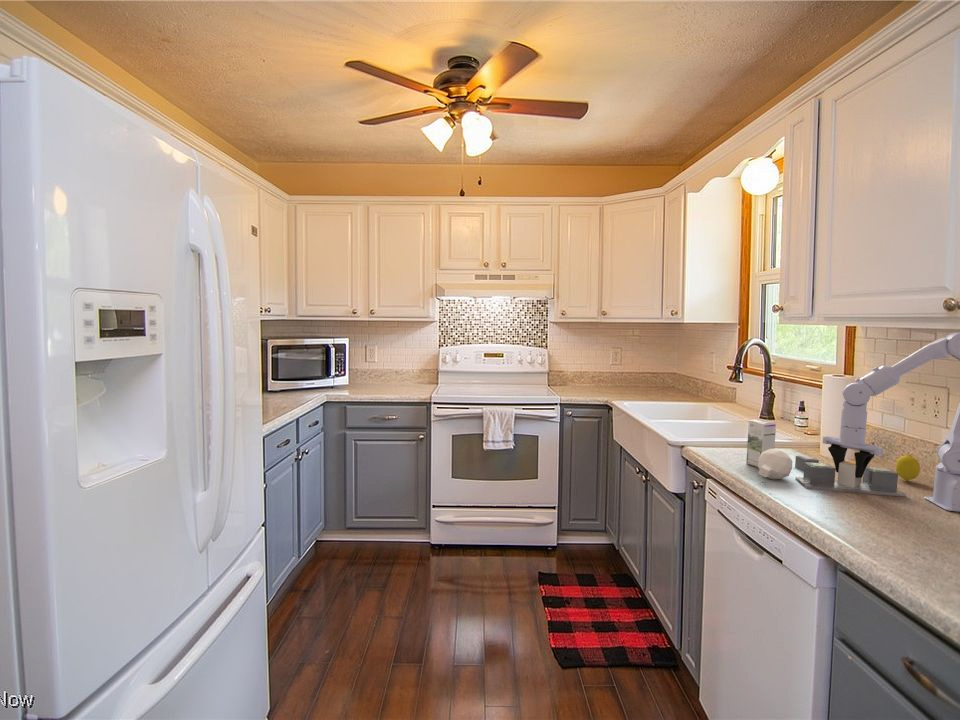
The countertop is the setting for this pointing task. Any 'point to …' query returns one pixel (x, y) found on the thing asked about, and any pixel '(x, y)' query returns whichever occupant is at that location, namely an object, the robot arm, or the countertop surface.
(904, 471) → the lemon
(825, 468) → the rail
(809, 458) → the relay block
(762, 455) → the beige faceted rounded lump
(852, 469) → the block
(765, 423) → the syrup box
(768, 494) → the countertop surface
